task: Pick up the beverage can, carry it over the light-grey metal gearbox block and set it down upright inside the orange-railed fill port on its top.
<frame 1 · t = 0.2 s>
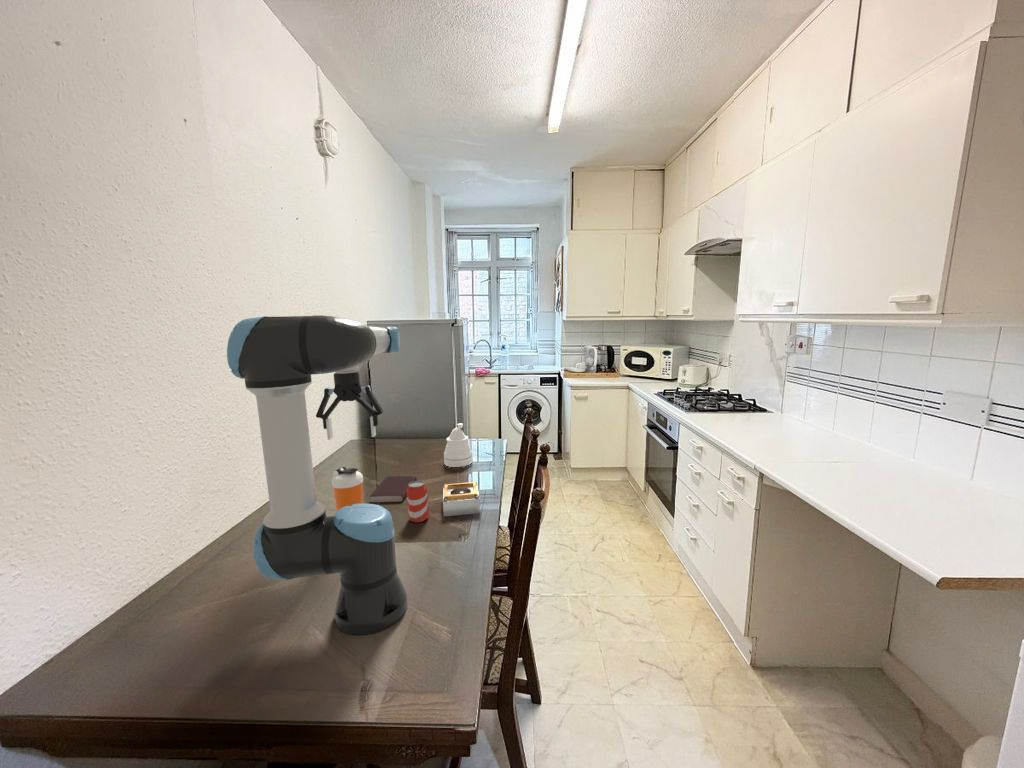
hand: (352, 437, 136), 28 cm above the table, fingers open, 13 cm apart
book: (394, 493, 162), on the table
honey pot: (458, 463, 192), on the table
beverage can: (418, 519, 137), on the table
shaker bottle: (352, 531, 131), on the table
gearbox: (461, 505, 146), on the table
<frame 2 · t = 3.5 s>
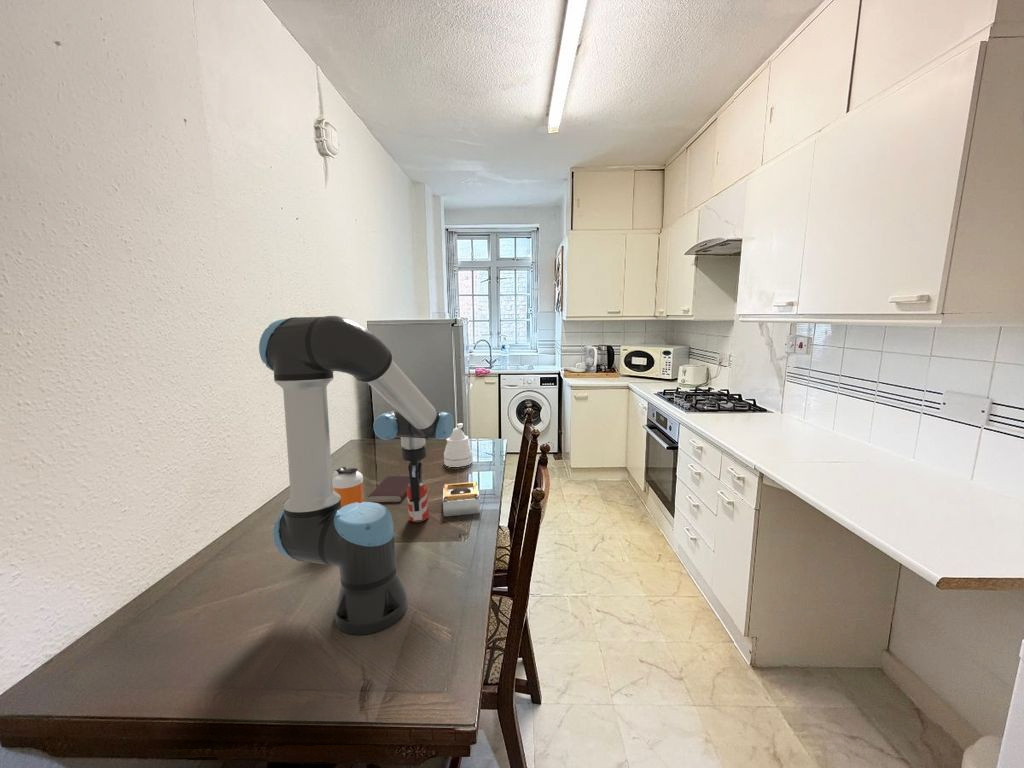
hand: (418, 514, 137), 1 cm above the table, fingers closed on beverage can, 6 cm apart
beverage can: (419, 519, 137), on the table, touching gripper
everything else where it was.
when the fingers open (8 cm above the table, at t = 7.8 s): beverage can drops 1 cm, resting on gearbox.
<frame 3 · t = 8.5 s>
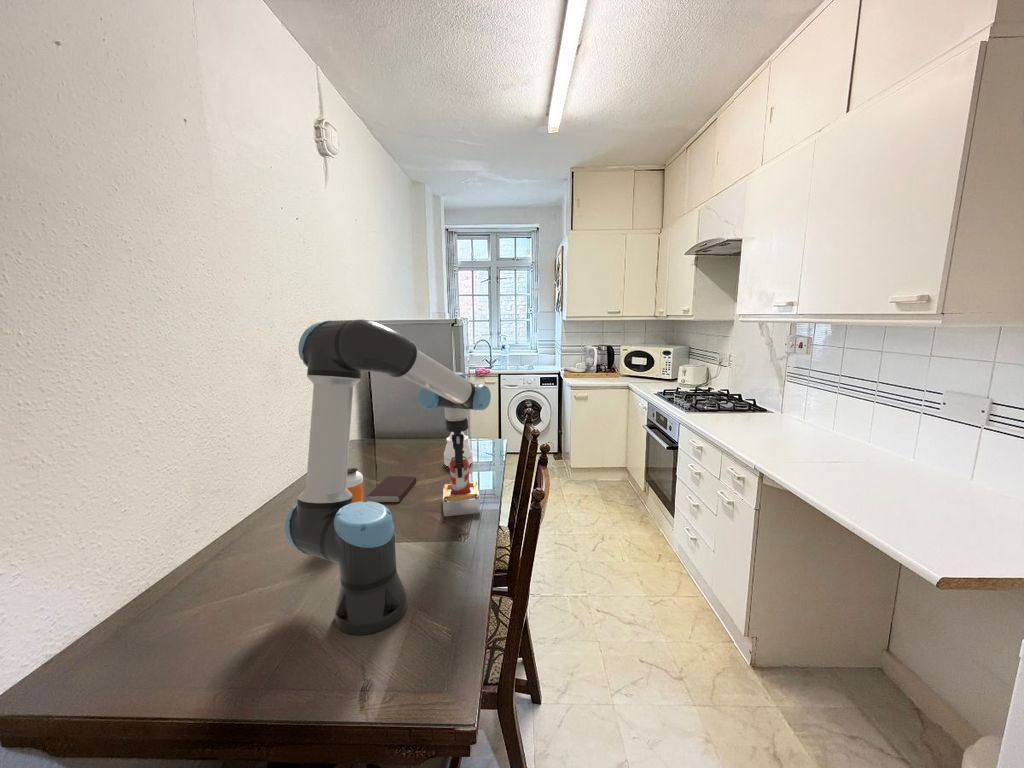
hand: (460, 479, 145), 10 cm above the table, fingers open, 13 cm apart
beverage can: (460, 492, 145), point 5 cm above the table, touching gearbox
everything else where it was.
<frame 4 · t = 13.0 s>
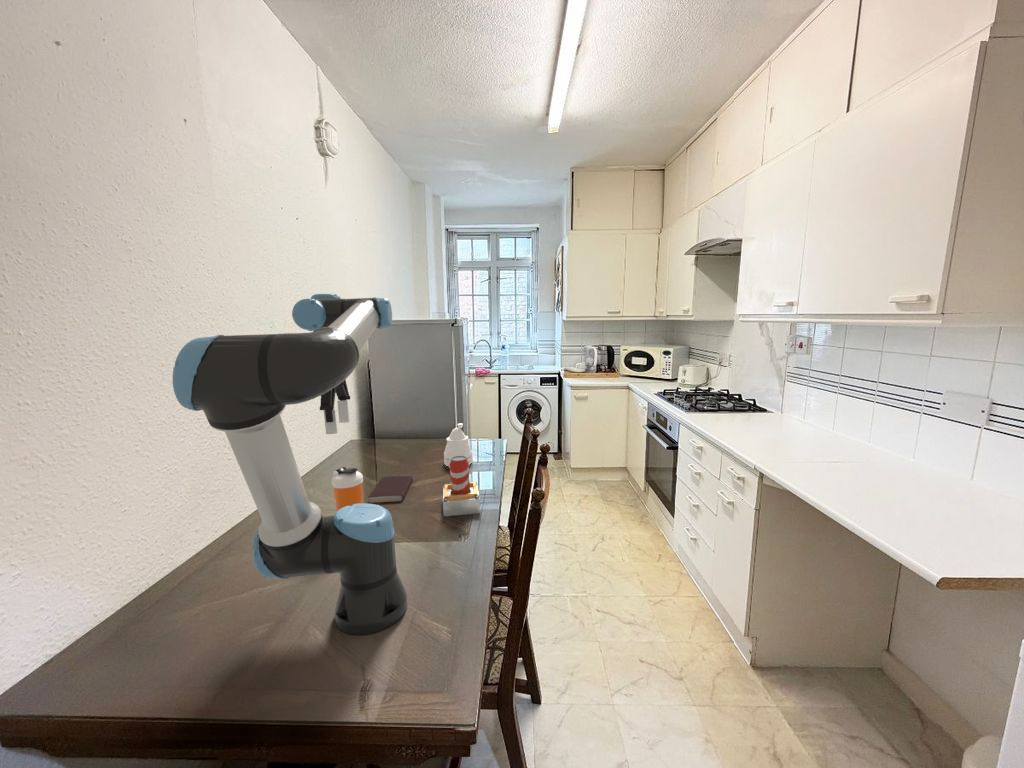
hand: (338, 427, 118), 35 cm above the table, fingers open, 13 cm apart
at the end: beverage can inside the target area on the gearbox (0.1 cm from its centre), point 5.0 cm above the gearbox's base; beverage can tilted 0°; the gripper is holding nothing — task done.
